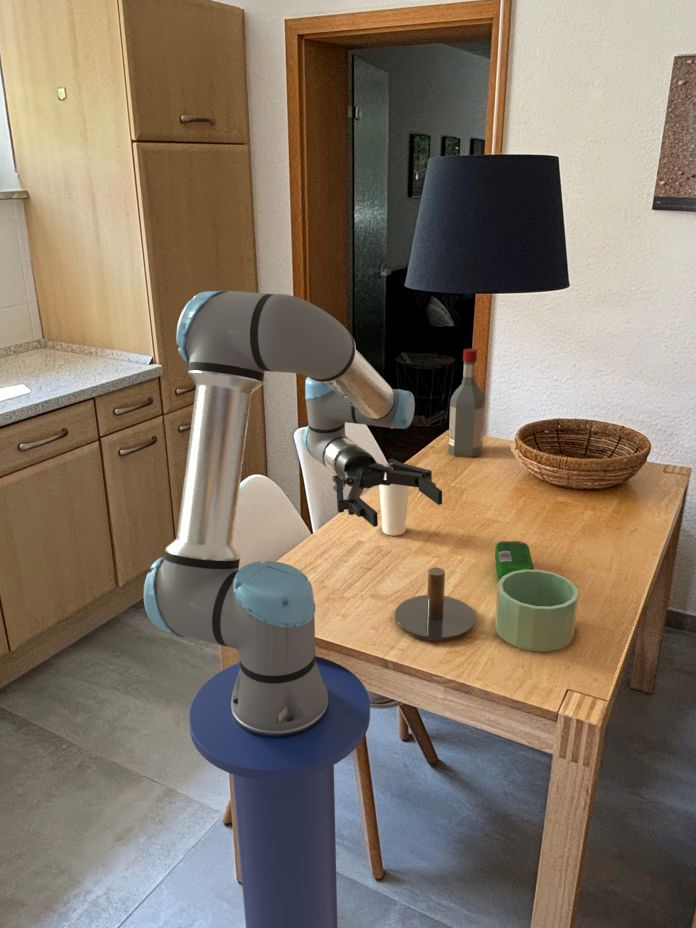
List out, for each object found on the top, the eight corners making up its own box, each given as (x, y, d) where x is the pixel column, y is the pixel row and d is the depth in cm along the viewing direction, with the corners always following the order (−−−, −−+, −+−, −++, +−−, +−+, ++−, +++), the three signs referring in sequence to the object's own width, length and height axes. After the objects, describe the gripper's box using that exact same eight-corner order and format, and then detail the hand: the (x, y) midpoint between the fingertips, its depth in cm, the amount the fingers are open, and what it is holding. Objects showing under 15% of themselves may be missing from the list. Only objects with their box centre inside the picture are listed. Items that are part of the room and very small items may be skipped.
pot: (485, 639, 135) (488, 597, 132) (507, 603, 146) (510, 563, 143) (563, 659, 129) (568, 616, 126) (580, 620, 141) (585, 579, 137)
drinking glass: (375, 536, 174) (375, 474, 168) (383, 523, 180) (383, 463, 174) (404, 539, 172) (405, 477, 166) (411, 527, 178) (412, 466, 172)
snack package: (496, 593, 150) (498, 570, 148) (492, 556, 164) (494, 534, 162) (533, 596, 149) (536, 572, 147) (526, 557, 163) (528, 535, 161)
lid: (381, 630, 138) (382, 580, 134) (413, 593, 150) (414, 546, 146) (459, 651, 132) (461, 599, 128) (485, 611, 144) (488, 562, 140)
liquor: (482, 448, 228) (488, 347, 217) (479, 458, 220) (484, 354, 209) (452, 445, 230) (456, 345, 219) (447, 455, 222) (451, 352, 211)
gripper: (404, 463, 160) (465, 507, 144) (295, 497, 150) (348, 547, 133) (403, 430, 156) (466, 471, 140) (292, 462, 146) (346, 510, 130)
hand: (408, 508), depth 137 cm, fingers open, 13 cm apart
